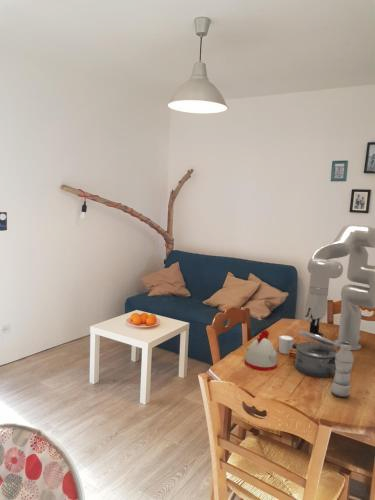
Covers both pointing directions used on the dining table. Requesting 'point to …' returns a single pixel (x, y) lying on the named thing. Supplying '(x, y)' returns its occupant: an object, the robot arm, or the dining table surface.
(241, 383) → the dining table surface
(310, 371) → the cooker pot
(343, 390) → the plastic bottle
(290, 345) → the white cylinder
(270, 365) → the kitchen timer
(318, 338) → the cooker lid
